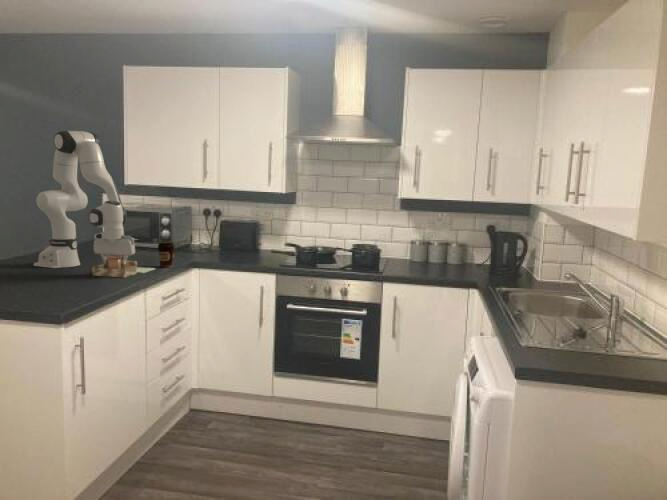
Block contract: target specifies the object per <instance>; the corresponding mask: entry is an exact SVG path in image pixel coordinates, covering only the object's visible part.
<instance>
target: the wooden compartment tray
mask: <svg viewBox="0 0 667 500" xmlns="http://www.w3.org/2000/svg"><path fill="white" fill-rule="evenodd" d="M120 260H121V261H122V259H120ZM137 267H138V261H136V260H126V264H122V262H121V269H109V259H108V263H104V262H103V263H102V264H99V265H95V266H92V268H91V274H92V276H98V277H113V278H127V277H130V275H131V276H134V275H137V274H138V273H137Z"/></svg>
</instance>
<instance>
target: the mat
mask: <svg viewBox="0 0 667 500" xmlns="http://www.w3.org/2000/svg"><path fill="white" fill-rule="evenodd" d="M154 270H156V267H141V266H140V267H139V266H137V274H145V273H148V272H151V271H154Z"/></svg>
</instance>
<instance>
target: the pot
mask: <svg viewBox="0 0 667 500" xmlns="http://www.w3.org/2000/svg"><path fill="white" fill-rule="evenodd" d="M122 257H123V255H115V254H106V258H107V259H108V260H109V269H121V260H122Z"/></svg>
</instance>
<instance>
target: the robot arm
mask: <svg viewBox="0 0 667 500" xmlns="http://www.w3.org/2000/svg"><path fill="white" fill-rule="evenodd" d="M101 143H102V142H101V139H100V136H99V135H98V134H97V133H94V132H91V131H84V130H83V131H82V130H61V131H58V132H56V134H55V135H54V137H53V144H54V147H55V152H54V154H53V155H54V157H53V165H52V166H53V168H52V177H53V180H54V181H56V182H57V183H59V184H60V185H61V189H60V190H59V189H54V190H53V189H49V190H44V191H40V192H39V194H38V195H37V197H36V200H35V201H36V205H37V207H38V208H39V210H40V211H42V212H43V213H44V214H45V215H46V216H47V217H48V219H49V222H50V226H51V232H52V233H51V234H52V236H51V237H52V238H51V239H48V240H47V242H48V243H49V246H47V247H46V248H45V249H44V250H42V251H41V252H40V253H39V255H38V261H37V262H34V263H33V266H34V267H41V268H50V269H59V268H71V267H77V266H80V265H81V262H80V258H79V254H78V239H77V229H76V225H77V224H76V223H75V222H74V221H73V220H72V219H70V218H68V217H67V214H66V212H77V211H81V210H84V209H85V208H86V207H87V206H88V203H89V202H88V200H89V199H88V195H87V194H86V192H84V190H82V189H81V187H80V185H79V183H78V164H79V169H80V172H81V175H82V177H83V178H84V179H85V180H86V181H87V182H89V183H91V184H94V185H96V186H98V187H100V188H102V189H103V190H104V192H105V194H106V197H107V200H106V201H104V202H103V204H101V205H100V206H96V207H94V208H92V209H91V210H90V212H89V213H88V220H89V223H90V224H91V226H93V227H94V228H103V231H101V232H98V233H95V234H94V241H93V252H94V254H96V255H97V254H98V255H100V256H101V259H102V260H103V264H104V263H108V260H109V259H108V258H107V255H109V254H115V255H121V256H122V257H123V260H122V259H121V260H122V261H121V262H122V264H126V261H128V258H129V256H132V255H133V256H134V255H135V253H136V245H135V238H134V236H133V237H132V236H131V235H125V230H124V224H125V223H126V221H127V218H128V214H127V211H126V209H125V208H124V206H123V203H122V200H121V196H120V193H119V191H118V187H117V185H116V182H115V179H114V177H113V176H112V175H110V173H109V172H108V170H107V169H106V168H107V167H106V165H105V161H104V156H103V152H102V150H101ZM78 162H79V163H78Z"/></svg>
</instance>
